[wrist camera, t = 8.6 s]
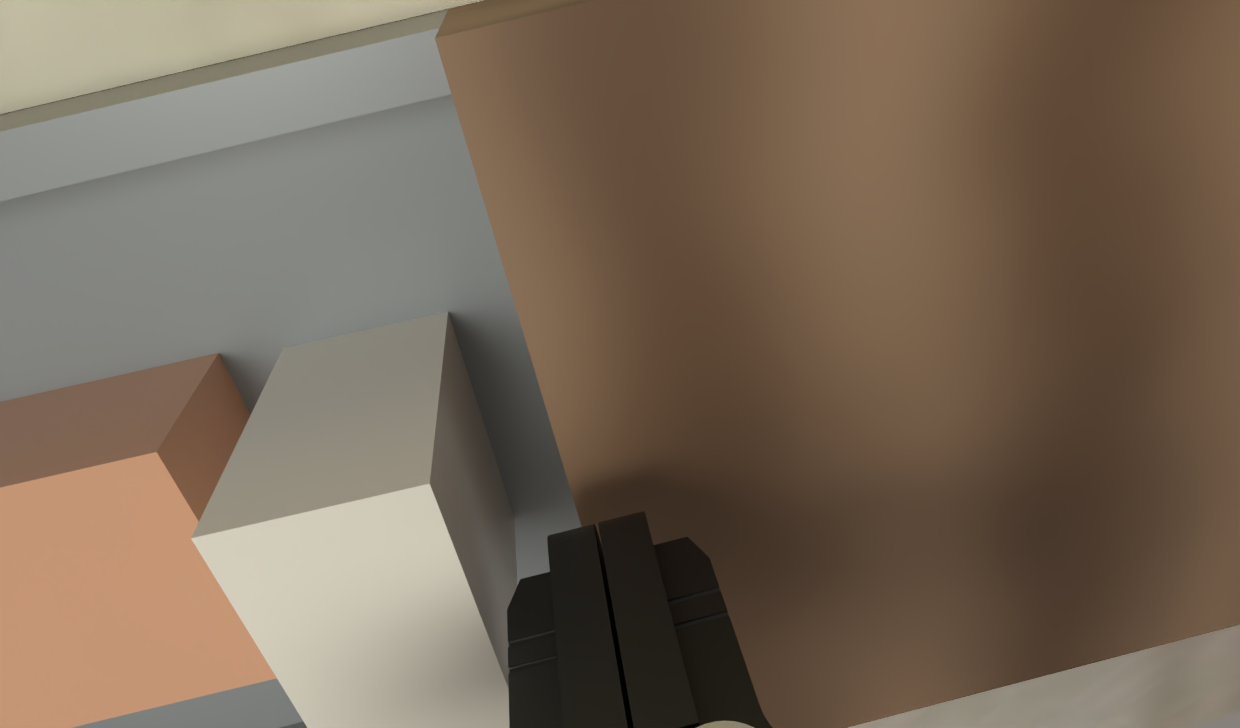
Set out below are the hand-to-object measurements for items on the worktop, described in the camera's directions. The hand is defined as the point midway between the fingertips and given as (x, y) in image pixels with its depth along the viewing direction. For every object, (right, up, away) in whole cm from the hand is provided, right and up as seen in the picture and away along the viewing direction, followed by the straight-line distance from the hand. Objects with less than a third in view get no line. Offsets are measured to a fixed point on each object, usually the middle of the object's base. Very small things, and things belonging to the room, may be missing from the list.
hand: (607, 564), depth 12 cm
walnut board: (+8, +4, +4) cm, 10 cm away
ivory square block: (-2, +1, +1) cm, 3 cm away
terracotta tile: (-8, -1, +1) cm, 9 cm away
